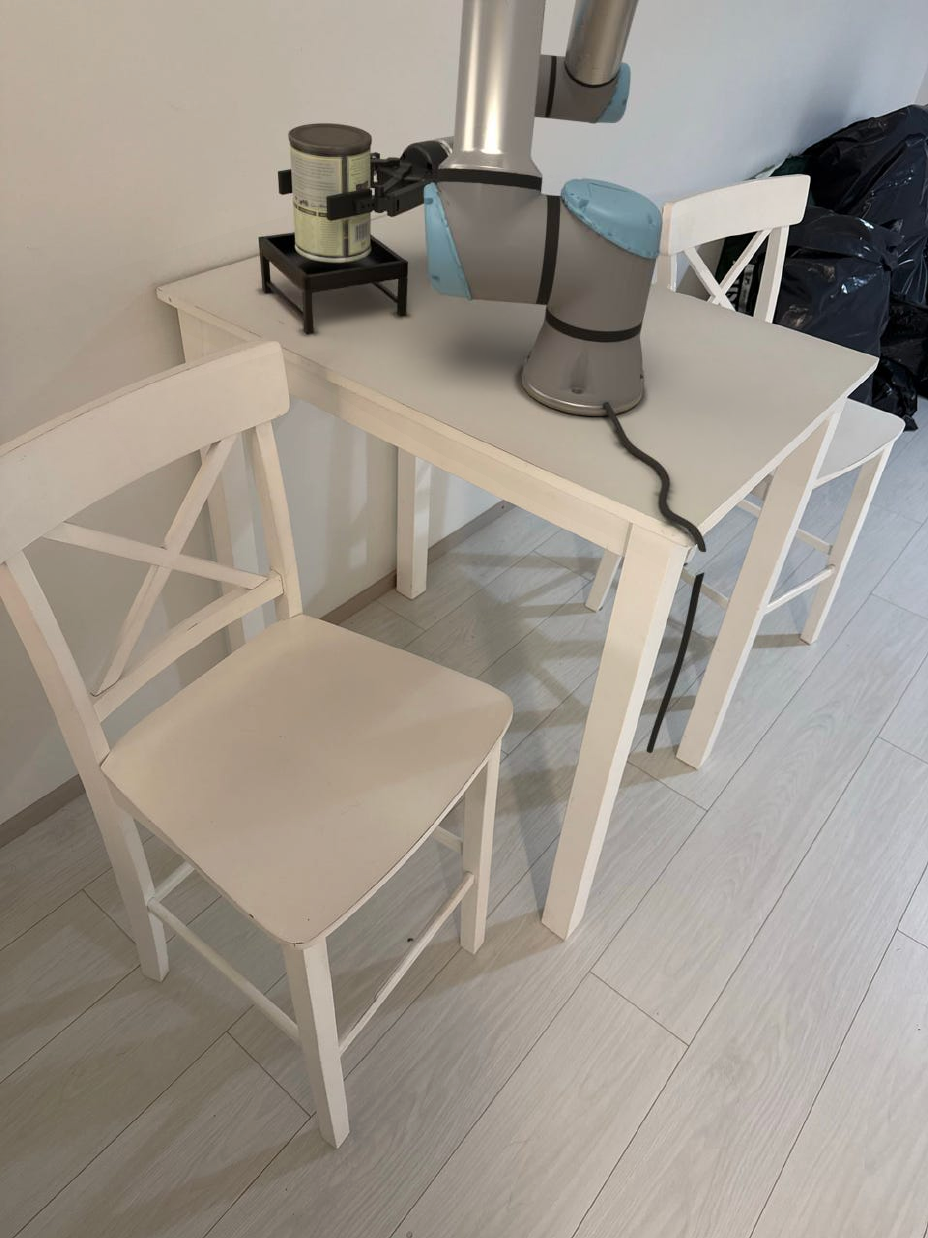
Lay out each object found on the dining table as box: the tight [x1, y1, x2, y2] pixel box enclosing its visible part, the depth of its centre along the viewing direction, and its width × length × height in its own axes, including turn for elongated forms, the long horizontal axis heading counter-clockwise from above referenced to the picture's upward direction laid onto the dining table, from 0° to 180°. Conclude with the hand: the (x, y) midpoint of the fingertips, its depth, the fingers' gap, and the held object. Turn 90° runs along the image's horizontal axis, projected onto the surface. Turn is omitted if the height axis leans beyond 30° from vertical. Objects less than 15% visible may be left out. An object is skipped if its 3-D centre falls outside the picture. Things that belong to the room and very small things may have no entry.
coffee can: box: [287, 122, 373, 263], centre depth 117 cm, size 10×10×14 cm
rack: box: [258, 231, 409, 335], centre depth 125 cm, size 15×15×8 cm
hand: (303, 195), depth 115 cm, fingers closed on coffee can, 10 cm apart
